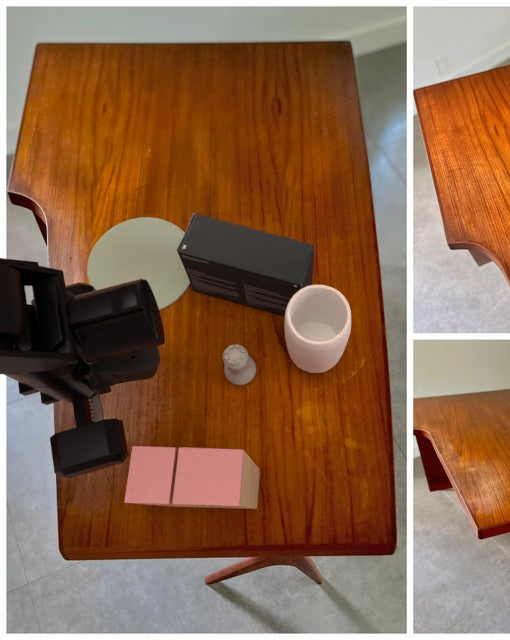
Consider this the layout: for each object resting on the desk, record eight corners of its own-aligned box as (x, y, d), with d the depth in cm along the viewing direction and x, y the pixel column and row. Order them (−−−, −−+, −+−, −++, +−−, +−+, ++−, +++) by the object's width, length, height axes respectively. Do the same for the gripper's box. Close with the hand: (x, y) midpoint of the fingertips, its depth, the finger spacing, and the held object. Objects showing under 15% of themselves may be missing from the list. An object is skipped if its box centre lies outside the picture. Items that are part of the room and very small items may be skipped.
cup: (277, 332, 77) (273, 294, 64) (331, 313, 79) (338, 272, 65) (297, 386, 75) (297, 358, 61) (353, 365, 76) (364, 334, 63)
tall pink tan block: (210, 507, 69) (171, 504, 48) (214, 467, 70) (178, 446, 49) (257, 509, 69) (239, 506, 48) (260, 468, 71) (243, 449, 50)
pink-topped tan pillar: (177, 506, 69) (123, 503, 48) (181, 466, 70) (132, 445, 49) (208, 507, 69) (169, 504, 48) (212, 467, 70) (175, 447, 49)
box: (313, 281, 80) (316, 243, 69) (301, 321, 78) (301, 288, 67) (207, 252, 81) (192, 210, 70) (191, 291, 79) (174, 253, 68)
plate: (97, 327, 76) (96, 326, 76) (80, 233, 82) (79, 231, 81) (207, 298, 79) (206, 297, 78) (183, 208, 84) (183, 206, 83)
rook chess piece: (228, 389, 74) (220, 375, 67) (221, 359, 76) (213, 342, 68) (259, 381, 75) (255, 366, 67) (252, 351, 76) (247, 333, 69)
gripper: (160, 432, 44) (195, 453, 58) (120, 238, 50) (161, 301, 64) (20, 474, 42) (92, 484, 57) (-4, 269, 48) (67, 326, 63)
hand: (107, 393), depth 60 cm, fingers open, 9 cm apart
